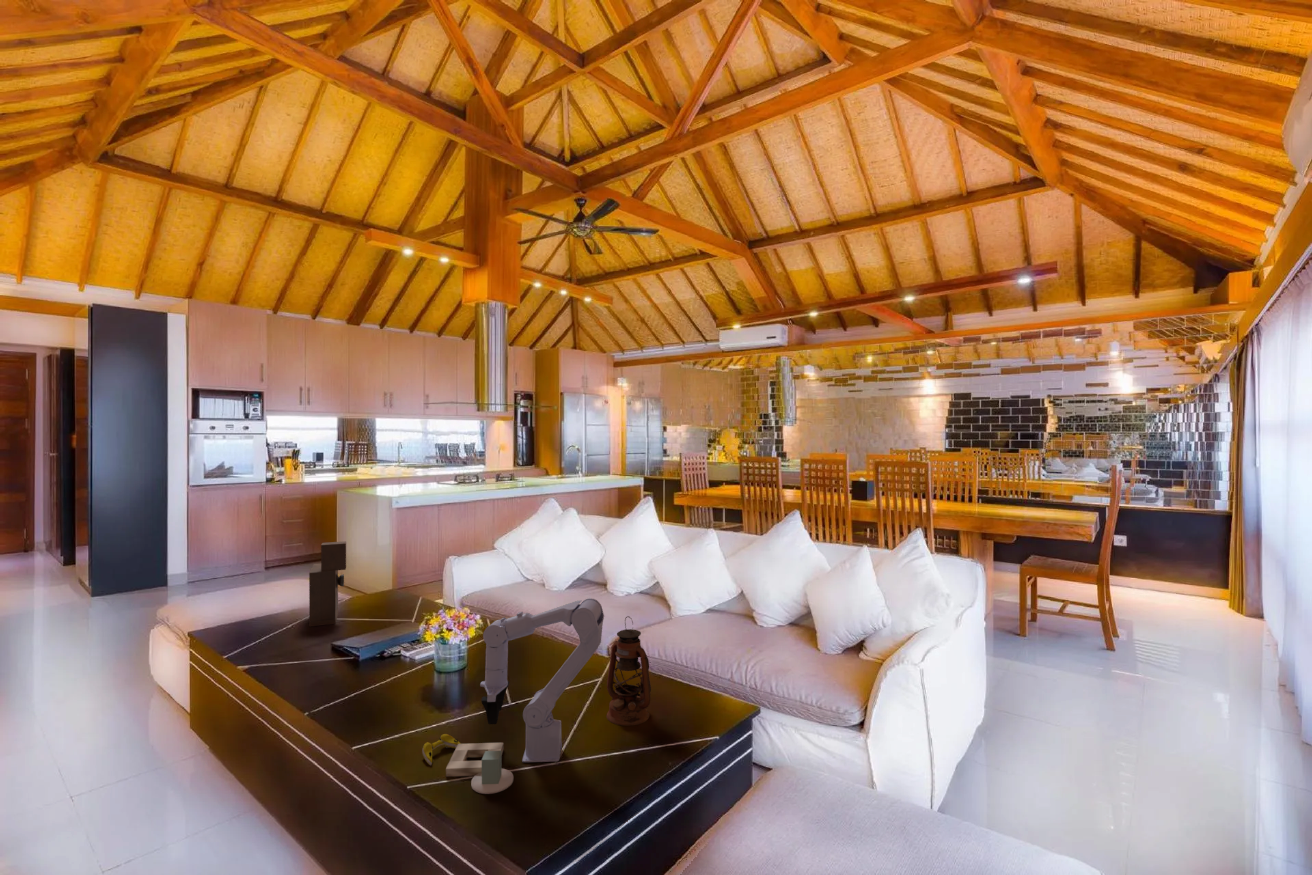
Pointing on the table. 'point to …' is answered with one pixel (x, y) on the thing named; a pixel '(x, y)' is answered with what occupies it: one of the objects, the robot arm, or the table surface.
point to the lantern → (626, 698)
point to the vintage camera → (326, 584)
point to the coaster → (492, 788)
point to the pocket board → (463, 751)
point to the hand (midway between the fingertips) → (494, 716)
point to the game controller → (444, 740)
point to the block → (491, 767)
